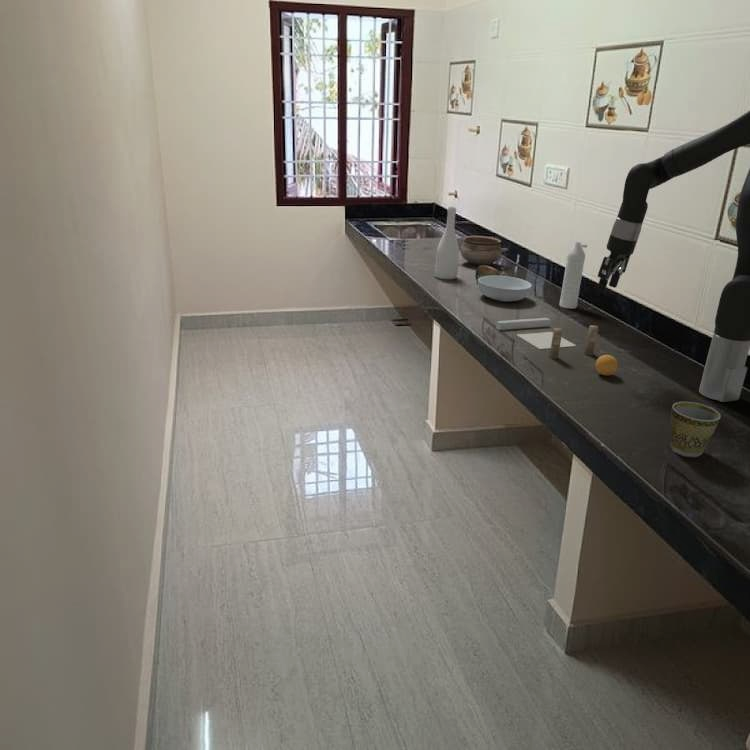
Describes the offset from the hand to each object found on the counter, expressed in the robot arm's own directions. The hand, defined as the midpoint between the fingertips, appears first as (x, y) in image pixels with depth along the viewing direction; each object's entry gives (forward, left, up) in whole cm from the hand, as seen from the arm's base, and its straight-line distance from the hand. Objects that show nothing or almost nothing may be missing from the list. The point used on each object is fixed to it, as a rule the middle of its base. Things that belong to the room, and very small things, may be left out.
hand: (606, 288), depth 197 cm
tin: (+85, -10, -23) cm, 88 cm away
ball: (-11, +5, -19) cm, 23 cm away
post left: (+5, +11, -22) cm, 25 cm away
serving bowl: (+67, -7, -23) cm, 71 cm away
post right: (+5, -2, -22) cm, 23 cm away
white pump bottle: (+51, -27, -23) cm, 62 cm away
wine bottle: (+102, +1, -23) cm, 104 cm away
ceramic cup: (-54, +15, -23) cm, 61 cm away
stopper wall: (+33, +5, -22) cm, 40 cm away
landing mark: (+19, +5, -22) cm, 29 cm away
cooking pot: (+121, -26, -23) cm, 126 cm away
